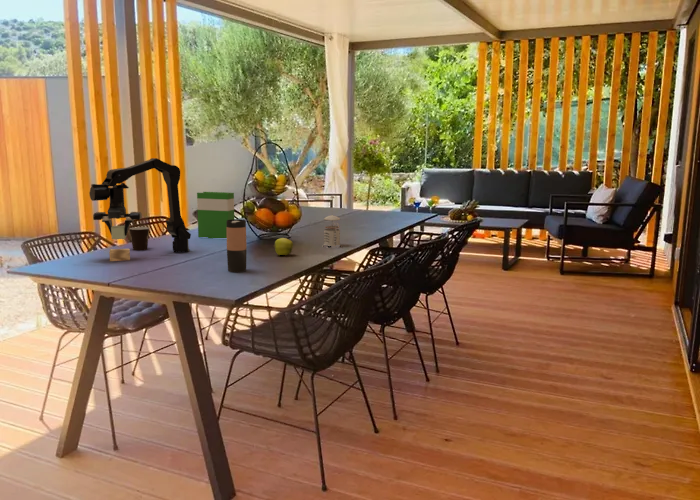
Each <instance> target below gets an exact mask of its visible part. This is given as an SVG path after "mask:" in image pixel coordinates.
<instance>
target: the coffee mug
mask: <svg viewBox="0 0 700 500" xmlns="http://www.w3.org/2000/svg"><path fill="white" fill-rule="evenodd" d="M149 233H150V228H149V227H147V226H137V227H129V235H130V240H131V246H132V251H138V252H139V251H146V250H148V247H149Z"/></svg>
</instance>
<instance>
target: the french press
mask: <svg viewBox="0 0 700 500" xmlns="http://www.w3.org/2000/svg"><path fill="white" fill-rule="evenodd" d="M330 199H331V211H333V208H334V207H333V201H334V200H333V199H335V196H334V195H331V196H330ZM323 220H324V221H331V222H333V221H336V222H333V225H326V226H324V228H325V229H324V230H323V235H324V236H323V238H324V240H323V242H324V243H323V245H328V246H336V245H341V244H340V243H341V240H340V239H341V235H340V234H341V229H340V226H339V223H338V222H337V221H340V220H341V218H340V217H339V216H336V215H333V214H331V215H327V216H326V217H324V218H323Z"/></svg>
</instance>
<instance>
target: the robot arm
mask: <svg viewBox="0 0 700 500" xmlns="http://www.w3.org/2000/svg"><path fill="white" fill-rule="evenodd" d="M154 169H155V170H156V171H158V172H160V173H161V174H162V178H163V181H164V183H165V184H166V190H167V198H168V201H167V202H168V207H169V208H168V209H169V218H168V220H165V224H166V228H165V229H166V230H167V232H168V234H170V236H171V238H173V241H172V252H173V253H189V251H190V249H189V248H190V246H189V240H190V239H191V236H192V234H191V233H190V232H189V231H188V230H187V229H186V225H185V222H184V219H183V218H182V214H181V213H182V212H181V206H180V205H181V204H180V196H179V195H180V194H179V183H180V180H181V169H180V167H179V166H178V165H173V164H170V163H168V162H165V161H162V160H160V159H159V158H154V157H153V158H150V159H148V160H144V161H141V162H139V163H135V164H134V165H133V164H132V165H129V166H127V167H123V168H122V167H120V168H113V169H109V170H108V171H107V173H106V176H105V178H104V180H103V181H102V183H99V184H95V183H91V184H90V189H89V192H88V193H89V197H90V200H91V201H92V202H93V201H107V200H108V199H109V207H108V208H107V213H106V211H97V212H94V213H93V216H92V217H93V219H92V220H93V221H101V222H102V223H104V224H106V226H107V228H108V231H109V233H110V234H111V227H113V226H114V225H113V219H115V220H116V219H117V220H118V219H119V220H120V219H125V220H124V226H125V236H126V237H127V234H128V231H129V229H130V226H131V223H132V222H134V221H135V220H141V219H142V218H143V214H142V212H141V211H131V212H130V213H127V209H126V205H125V190H124V189H126V190H127V189H129V188H130V187H129V186H128V185H127V184H126V183H125V182H126V181H127V180H129V179H130V178H131V177H133V176H136V175H139V174H141V173H144V172H147V171H150V170H154Z"/></svg>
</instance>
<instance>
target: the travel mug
mask: <svg viewBox="0 0 700 500" xmlns="http://www.w3.org/2000/svg"><path fill="white" fill-rule="evenodd" d="M226 224H227V239H226V259H227V260H226V261H227V271H228V272H230V273H243V272H246V271H247V249H248V247H247V220H246V219H238V218H237V219H235V218H234V219H232V220H227V221H226Z"/></svg>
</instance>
